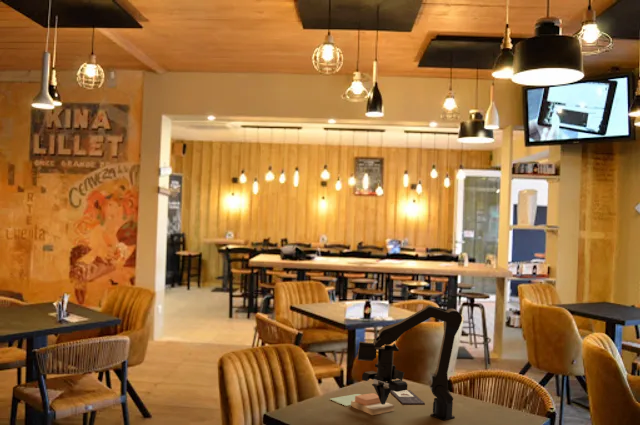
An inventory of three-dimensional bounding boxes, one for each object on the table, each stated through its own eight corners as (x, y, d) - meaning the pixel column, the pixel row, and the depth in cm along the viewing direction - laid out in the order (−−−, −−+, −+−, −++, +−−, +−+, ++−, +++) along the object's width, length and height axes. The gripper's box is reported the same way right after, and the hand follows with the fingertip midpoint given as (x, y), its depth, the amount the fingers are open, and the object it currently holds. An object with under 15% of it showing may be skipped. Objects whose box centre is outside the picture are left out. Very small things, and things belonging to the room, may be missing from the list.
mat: (375, 401, 241) (375, 400, 241) (346, 406, 232) (346, 405, 232) (358, 394, 249) (358, 393, 249) (329, 399, 239) (329, 398, 239)
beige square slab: (394, 410, 230) (394, 405, 230) (372, 415, 223) (372, 409, 223) (372, 402, 239) (372, 397, 239) (350, 406, 232) (351, 401, 232)
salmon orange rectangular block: (383, 402, 233) (383, 396, 233) (365, 405, 228) (365, 400, 228) (372, 398, 238) (372, 392, 238) (354, 401, 232) (355, 396, 232)
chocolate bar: (402, 403, 238) (389, 390, 256) (402, 405, 238) (389, 392, 256) (424, 403, 240) (410, 390, 258) (424, 405, 240) (410, 392, 258)
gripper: (418, 365, 225) (416, 408, 224) (383, 354, 239) (381, 394, 239) (397, 368, 218) (395, 412, 217) (362, 357, 232) (360, 398, 232)
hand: (383, 404), depth 227 cm, fingers closed
